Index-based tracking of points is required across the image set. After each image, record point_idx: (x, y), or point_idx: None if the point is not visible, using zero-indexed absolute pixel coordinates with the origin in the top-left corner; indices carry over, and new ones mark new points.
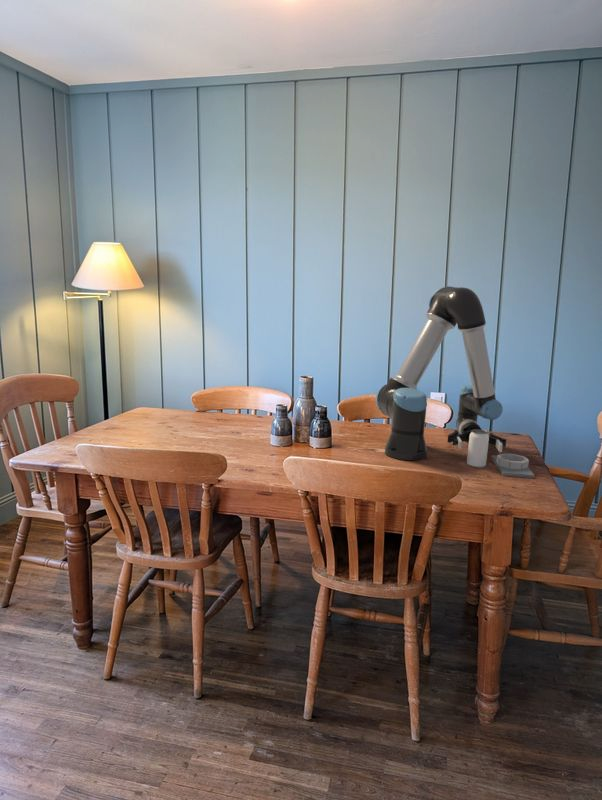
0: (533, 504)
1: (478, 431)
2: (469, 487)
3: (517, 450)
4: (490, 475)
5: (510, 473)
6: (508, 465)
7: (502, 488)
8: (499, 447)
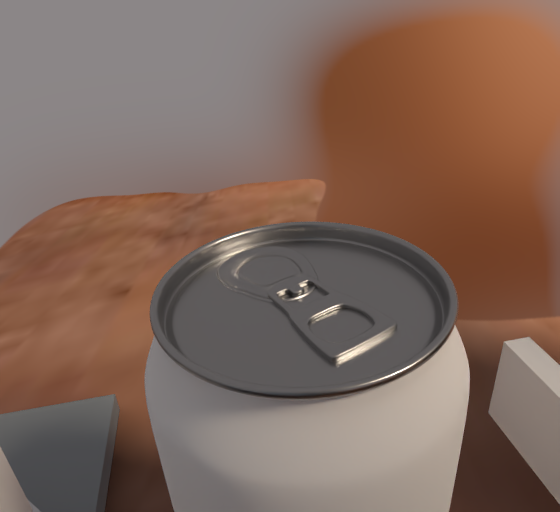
0: (107, 218)
1: (329, 334)
2: None
3: None
4: None
5: (62, 403)
6: None
7: None
8: (5, 501)
